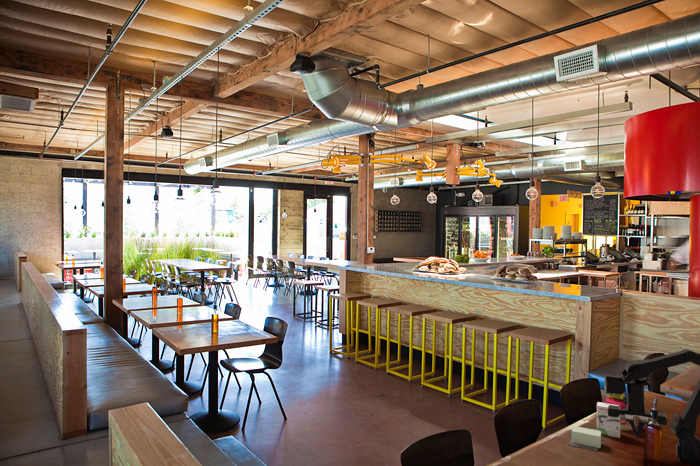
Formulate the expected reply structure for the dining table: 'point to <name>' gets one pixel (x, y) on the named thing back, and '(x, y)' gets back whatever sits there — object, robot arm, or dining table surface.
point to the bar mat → (582, 445)
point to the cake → (618, 400)
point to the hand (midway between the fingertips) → (637, 437)
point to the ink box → (607, 421)
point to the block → (586, 436)
